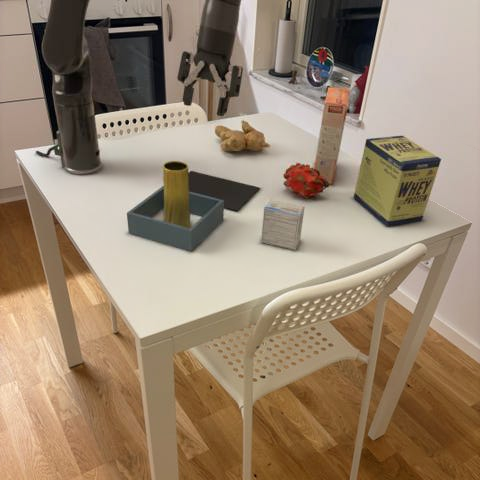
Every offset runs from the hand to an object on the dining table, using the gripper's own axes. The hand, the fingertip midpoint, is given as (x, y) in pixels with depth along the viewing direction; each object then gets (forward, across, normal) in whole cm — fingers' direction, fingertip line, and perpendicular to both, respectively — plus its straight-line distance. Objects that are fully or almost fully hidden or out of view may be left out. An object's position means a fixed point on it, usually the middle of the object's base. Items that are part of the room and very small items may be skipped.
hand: (203, 110), depth 113 cm
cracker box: (+12, -21, -36) cm, 43 cm away
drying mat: (+19, -1, -10) cm, 22 cm away
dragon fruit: (+15, -21, -22) cm, 34 cm away
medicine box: (+21, -26, +2) cm, 34 cm away
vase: (+24, -4, +9) cm, 26 cm away
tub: (+24, -4, +9) cm, 26 cm away
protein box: (+13, -42, -26) cm, 51 cm away
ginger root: (+13, +7, -38) cm, 41 cm away
